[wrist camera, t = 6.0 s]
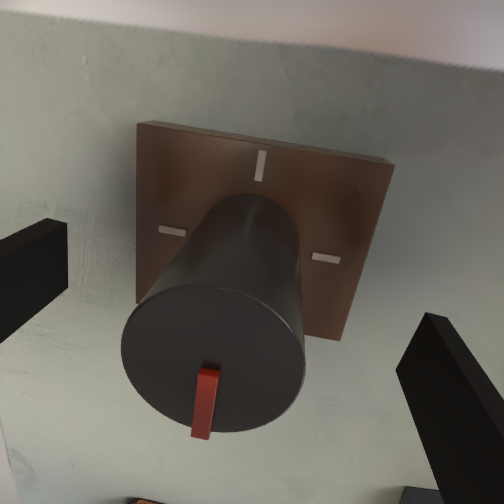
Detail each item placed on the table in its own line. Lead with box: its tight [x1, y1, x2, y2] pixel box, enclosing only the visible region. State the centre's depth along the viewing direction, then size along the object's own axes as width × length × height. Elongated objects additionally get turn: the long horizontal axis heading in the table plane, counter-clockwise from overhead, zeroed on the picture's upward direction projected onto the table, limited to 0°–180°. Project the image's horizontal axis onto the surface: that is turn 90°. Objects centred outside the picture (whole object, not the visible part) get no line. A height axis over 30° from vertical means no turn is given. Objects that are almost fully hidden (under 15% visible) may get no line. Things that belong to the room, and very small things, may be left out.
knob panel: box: [136, 121, 395, 341], centre depth 19 cm, size 12×10×2 cm
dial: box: [121, 195, 306, 440], centre depth 13 cm, size 5×5×9 cm
